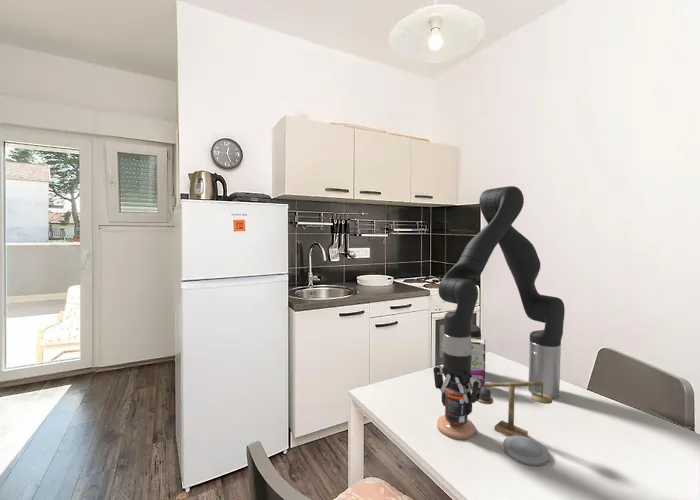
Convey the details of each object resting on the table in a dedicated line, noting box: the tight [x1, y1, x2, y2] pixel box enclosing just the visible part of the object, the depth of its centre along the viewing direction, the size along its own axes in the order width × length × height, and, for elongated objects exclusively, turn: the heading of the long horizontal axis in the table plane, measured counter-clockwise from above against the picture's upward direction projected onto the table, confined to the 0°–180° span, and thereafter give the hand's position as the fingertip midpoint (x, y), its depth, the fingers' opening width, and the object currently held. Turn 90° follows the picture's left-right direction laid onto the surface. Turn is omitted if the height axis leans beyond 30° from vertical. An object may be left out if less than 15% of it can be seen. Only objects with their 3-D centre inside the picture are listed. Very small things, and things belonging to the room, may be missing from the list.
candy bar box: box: [469, 338, 486, 389], centre depth 121 cm, size 11×5×16 cm, turn 68°
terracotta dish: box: [436, 414, 476, 440], centre depth 94 cm, size 10×10×1 cm
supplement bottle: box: [444, 380, 469, 425], centre depth 93 cm, size 6×6×11 cm
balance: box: [477, 381, 554, 437], centre depth 91 cm, size 5×20×17 cm, turn 41°
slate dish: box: [503, 436, 550, 467], centre depth 83 cm, size 10×10×1 cm
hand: (456, 409), depth 93 cm, fingers closed on supplement bottle, 6 cm apart
